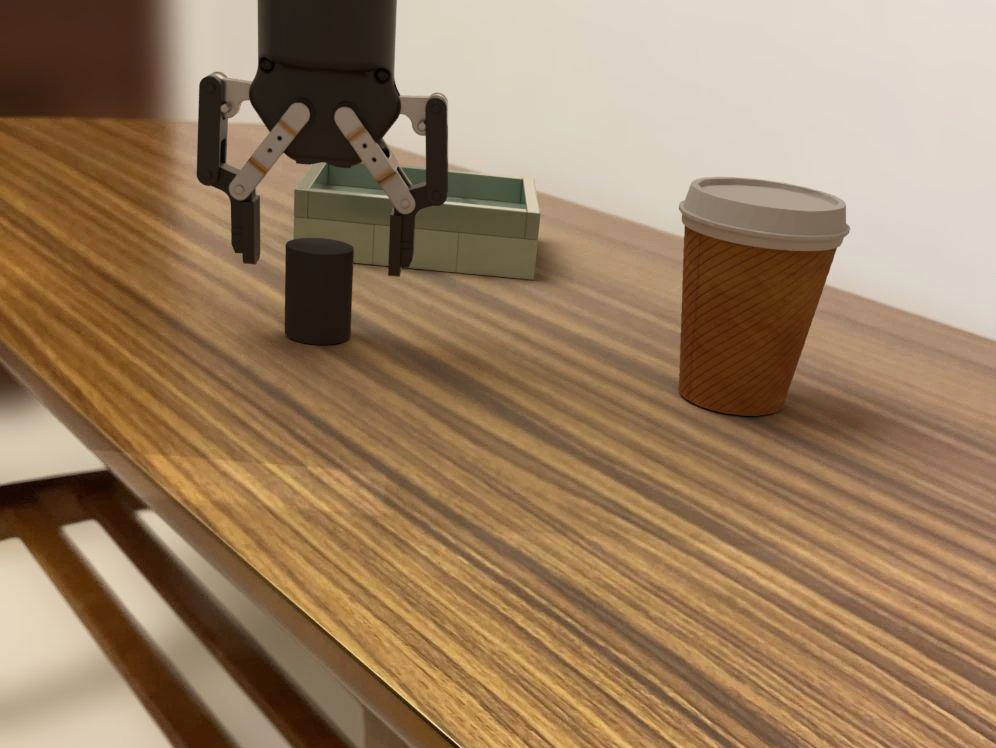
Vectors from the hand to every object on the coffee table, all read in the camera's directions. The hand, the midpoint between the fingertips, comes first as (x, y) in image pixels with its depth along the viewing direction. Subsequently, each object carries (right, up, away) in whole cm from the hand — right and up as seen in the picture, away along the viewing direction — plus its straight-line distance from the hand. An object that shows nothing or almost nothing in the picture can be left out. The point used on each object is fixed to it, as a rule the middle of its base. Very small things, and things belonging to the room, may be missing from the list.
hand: (323, 267), depth 74 cm
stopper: (-1, -4, +2) cm, 4 cm away
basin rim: (+4, +10, +23) cm, 26 cm away
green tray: (+3, +7, +25) cm, 26 cm away
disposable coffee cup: (+24, -8, 0) cm, 26 cm away
